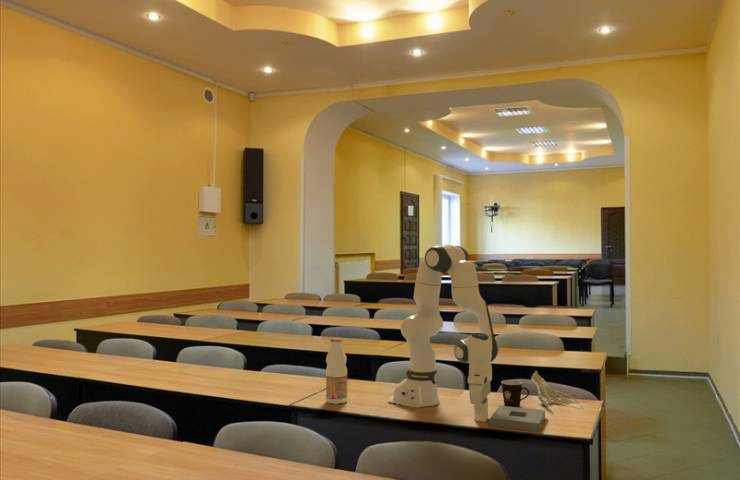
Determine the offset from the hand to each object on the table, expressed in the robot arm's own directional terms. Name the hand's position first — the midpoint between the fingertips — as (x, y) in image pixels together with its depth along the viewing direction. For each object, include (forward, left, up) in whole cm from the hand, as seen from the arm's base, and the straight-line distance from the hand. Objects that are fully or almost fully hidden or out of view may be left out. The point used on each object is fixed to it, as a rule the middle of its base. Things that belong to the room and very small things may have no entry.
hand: (481, 410), depth 226 cm
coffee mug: (+9, +22, -4) cm, 24 cm away
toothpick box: (0, 0, -4) cm, 4 cm away
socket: (+14, +2, -4) cm, 15 cm away
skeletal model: (+23, +32, -4) cm, 39 cm away
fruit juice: (-65, +2, -4) cm, 65 cm away
